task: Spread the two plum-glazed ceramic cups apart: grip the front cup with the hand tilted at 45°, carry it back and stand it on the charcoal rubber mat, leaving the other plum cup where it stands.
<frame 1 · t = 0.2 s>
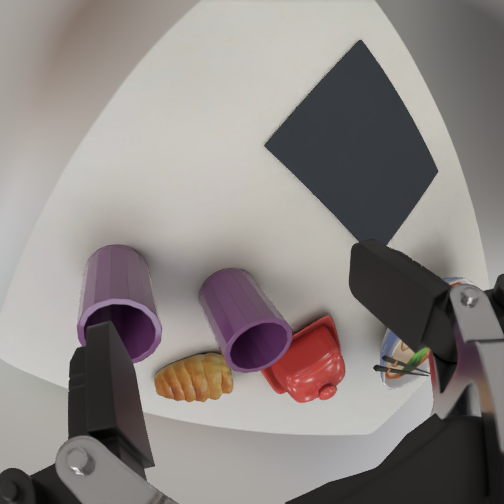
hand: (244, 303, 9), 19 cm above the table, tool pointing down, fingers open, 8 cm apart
ramen bowl: (404, 314, 50), on the table
butter dish: (298, 352, 42), on the table
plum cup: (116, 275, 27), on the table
pastry: (195, 370, 36), on the table
plum cup side: (227, 293, 33), on the table
mat: (372, 158, 32), on the table
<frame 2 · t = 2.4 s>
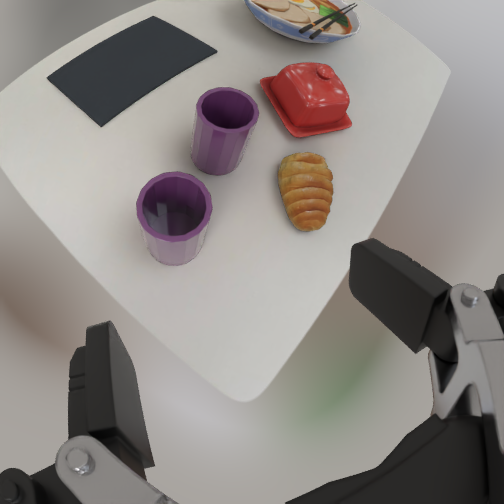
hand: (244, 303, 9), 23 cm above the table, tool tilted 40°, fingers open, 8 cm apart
ramen bowl: (290, 28, 48), on the table
butter dish: (303, 107, 42), on the table
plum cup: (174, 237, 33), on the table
pastry: (303, 192, 38), on the table
plum cup side: (216, 153, 36), on the table
mat: (130, 60, 38), on the table
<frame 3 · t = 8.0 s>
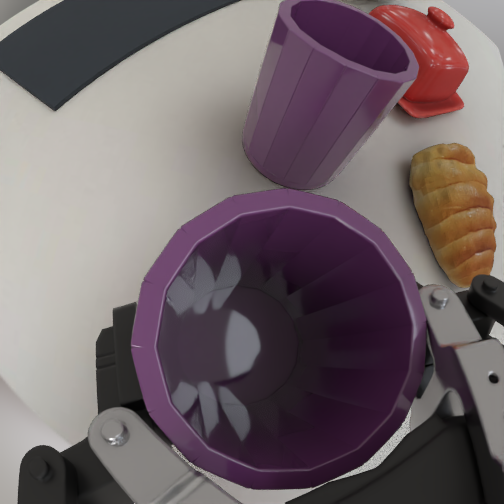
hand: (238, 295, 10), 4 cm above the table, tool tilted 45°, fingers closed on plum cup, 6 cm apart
butter dish: (398, 75, 23), on the table
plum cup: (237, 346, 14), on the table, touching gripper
pastry: (443, 215, 19), on the table
plum cup side: (294, 144, 18), on the table
mat: (110, 11, 19), on the table
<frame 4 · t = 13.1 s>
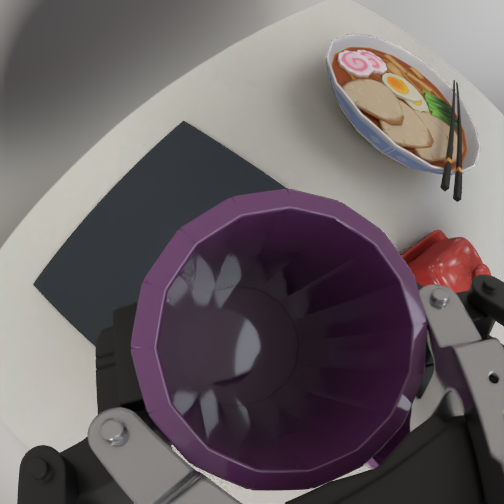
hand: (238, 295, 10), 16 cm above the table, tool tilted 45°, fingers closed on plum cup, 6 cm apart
ramen bowl: (384, 127, 37), on the table
butter dish: (430, 294, 30), on the table
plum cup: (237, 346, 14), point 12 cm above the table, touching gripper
plum cup side: (346, 415, 25), on the table
mat: (172, 244, 26), on the table
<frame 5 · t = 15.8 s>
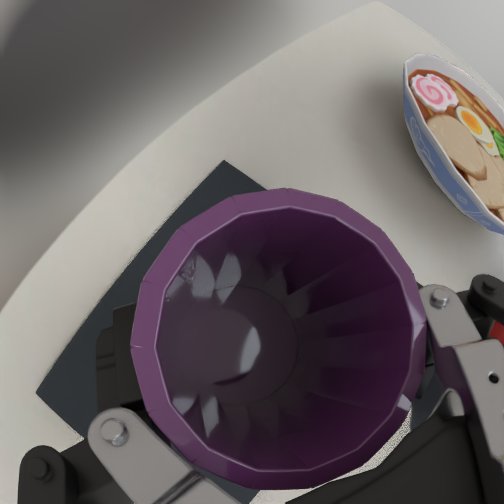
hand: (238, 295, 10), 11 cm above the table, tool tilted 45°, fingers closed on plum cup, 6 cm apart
ramen bowl: (448, 167, 30), on the table
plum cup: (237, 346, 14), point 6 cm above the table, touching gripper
mat: (221, 346, 19), on the table
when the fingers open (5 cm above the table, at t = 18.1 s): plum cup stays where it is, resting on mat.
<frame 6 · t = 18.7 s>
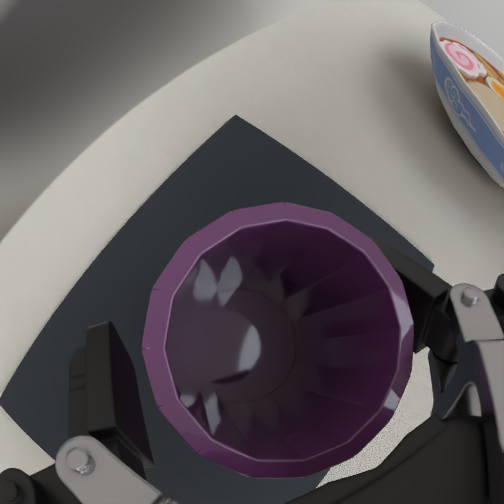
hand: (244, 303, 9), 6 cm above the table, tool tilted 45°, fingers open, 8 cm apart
ramen bowl: (478, 143, 25), on the table
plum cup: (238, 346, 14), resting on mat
mat: (234, 346, 15), on the table
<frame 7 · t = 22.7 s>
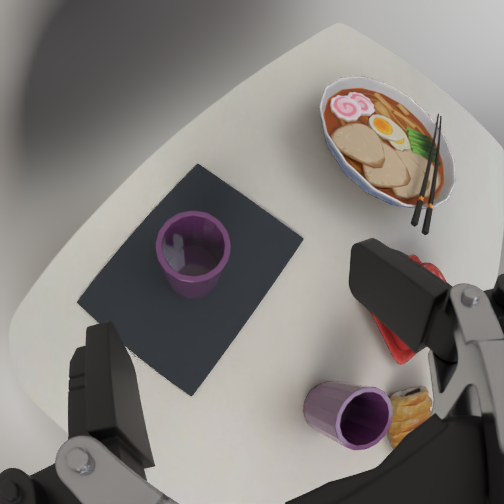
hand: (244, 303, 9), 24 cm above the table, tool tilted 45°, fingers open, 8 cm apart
ramen bowl: (370, 161, 44), on the table
butter dish: (402, 309, 37), on the table
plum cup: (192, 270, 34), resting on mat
pastry: (403, 415, 33), on the table
plum cup side: (328, 406, 32), on the table
mat: (191, 270, 34), on the table
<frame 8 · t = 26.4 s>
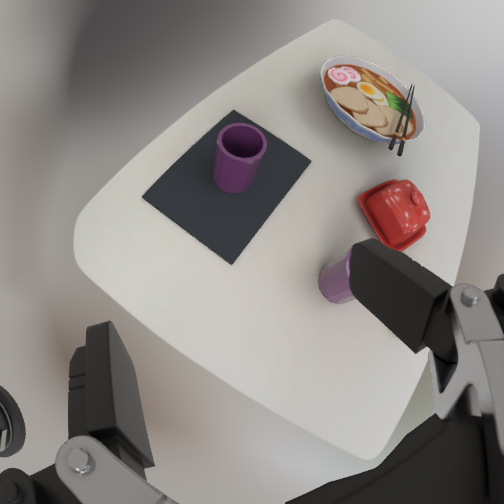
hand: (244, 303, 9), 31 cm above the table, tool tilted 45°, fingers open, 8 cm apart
ramen bowl: (359, 117, 56), on the table
butter dish: (389, 218, 50), on the table
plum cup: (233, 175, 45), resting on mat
plum cup side: (337, 282, 44), on the table
mat: (232, 176, 46), on the table
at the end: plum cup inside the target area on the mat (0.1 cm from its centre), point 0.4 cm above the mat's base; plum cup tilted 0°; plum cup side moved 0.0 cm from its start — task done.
